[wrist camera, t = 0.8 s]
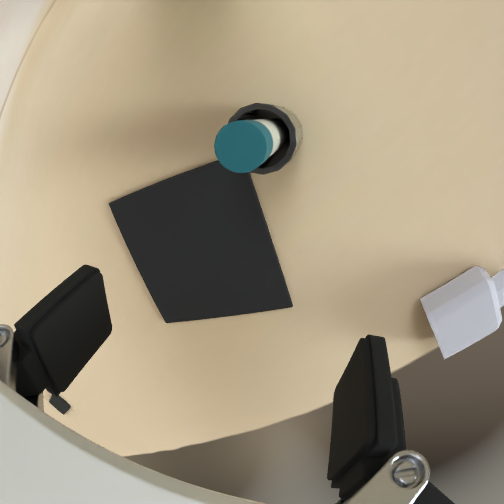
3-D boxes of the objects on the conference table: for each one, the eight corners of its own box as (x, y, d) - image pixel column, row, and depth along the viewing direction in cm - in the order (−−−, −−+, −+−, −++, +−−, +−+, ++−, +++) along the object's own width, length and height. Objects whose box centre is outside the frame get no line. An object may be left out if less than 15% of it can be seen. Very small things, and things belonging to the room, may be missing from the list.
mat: (110, 202, 38) (108, 203, 38) (242, 152, 32) (241, 152, 31) (167, 321, 45) (165, 323, 45) (292, 305, 39) (292, 307, 38)
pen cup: (239, 116, 30) (214, 117, 23) (293, 99, 28) (283, 94, 21) (256, 165, 32) (237, 182, 25) (309, 151, 30) (306, 163, 23)
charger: (519, 289, 30) (437, 339, 36) (508, 239, 28) (418, 295, 34) (533, 308, 26) (445, 362, 32) (526, 255, 24) (426, 318, 30)
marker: (253, 123, 29) (207, 130, 18) (284, 113, 28) (256, 113, 16) (263, 152, 31) (224, 179, 19) (293, 143, 29) (274, 164, 18)
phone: (48, 401, 81) (52, 393, 74) (49, 400, 82) (54, 391, 75) (63, 415, 82) (69, 407, 75) (64, 413, 83) (71, 406, 76)
